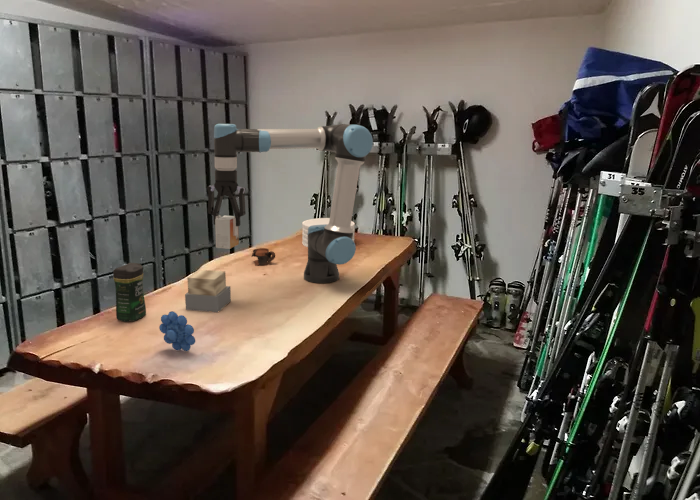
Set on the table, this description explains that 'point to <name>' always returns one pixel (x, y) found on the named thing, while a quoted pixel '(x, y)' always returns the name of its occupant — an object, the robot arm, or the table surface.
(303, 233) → the plate stack
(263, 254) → the pottery mug
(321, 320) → the table surface
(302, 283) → the table surface
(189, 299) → the block base
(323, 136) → the robot arm
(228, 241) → the small box
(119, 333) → the table surface
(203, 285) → the block top
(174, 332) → the grapes
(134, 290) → the coffee jar
